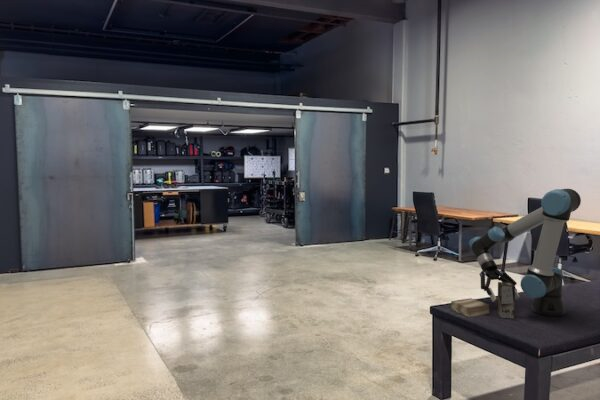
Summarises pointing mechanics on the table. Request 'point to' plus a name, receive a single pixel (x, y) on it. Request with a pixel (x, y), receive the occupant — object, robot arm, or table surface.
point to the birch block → (470, 307)
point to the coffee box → (506, 299)
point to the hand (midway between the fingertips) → (506, 299)
